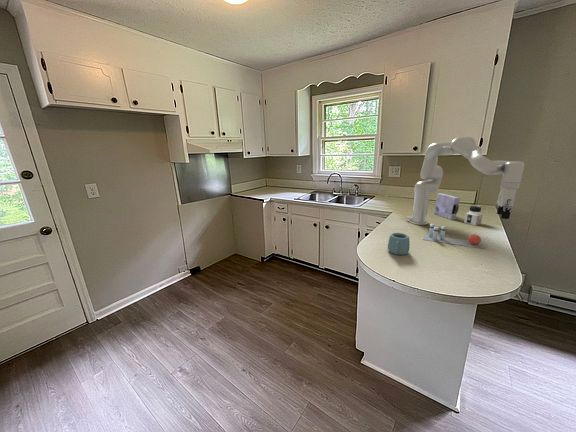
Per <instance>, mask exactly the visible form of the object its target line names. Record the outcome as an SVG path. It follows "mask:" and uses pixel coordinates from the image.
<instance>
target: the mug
mask: <svg viewBox="0 0 576 432" xmlns="http://www.w3.org/2000/svg"><path fill="white" fill-rule="evenodd" d="M387 250H388V251H389V252H390V253H391V254H394V255H398V256H404V255H407V254H409V253H410V252H409V251H410V237H409V235H407V234H405V233H401V232H394V233H393V232H392V233H391V234H390V235H389V237H388V242H387Z"/></svg>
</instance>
